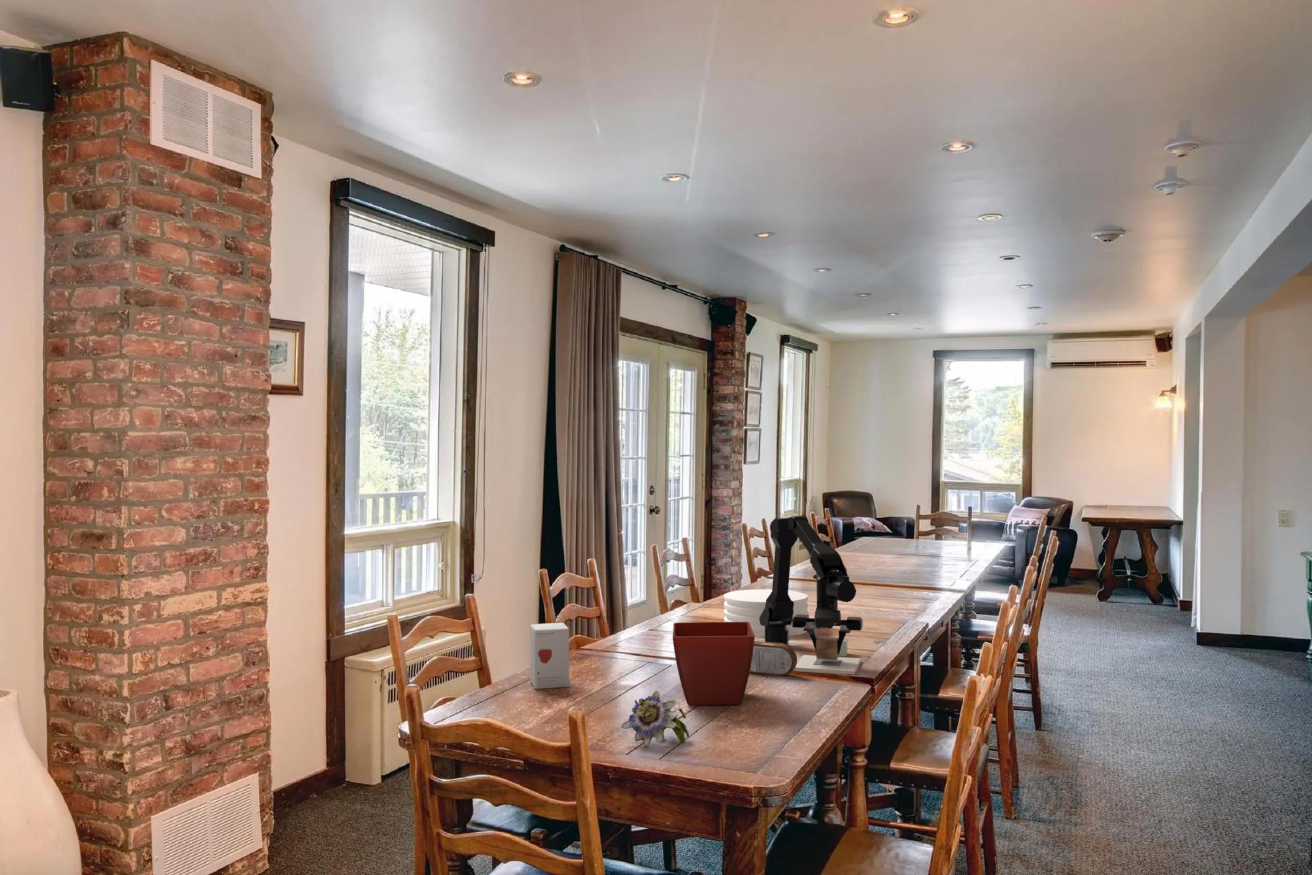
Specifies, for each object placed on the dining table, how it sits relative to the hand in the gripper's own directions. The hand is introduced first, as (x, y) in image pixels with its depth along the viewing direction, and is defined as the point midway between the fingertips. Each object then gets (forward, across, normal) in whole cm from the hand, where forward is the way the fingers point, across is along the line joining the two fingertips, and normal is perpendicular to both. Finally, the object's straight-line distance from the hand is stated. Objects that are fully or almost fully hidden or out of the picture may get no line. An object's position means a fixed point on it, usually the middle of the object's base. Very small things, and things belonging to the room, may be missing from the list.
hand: (827, 653), depth 254 cm
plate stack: (+4, -27, +49) cm, 56 cm away
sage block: (+4, +1, +16) cm, 16 cm away
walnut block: (+1, 0, 0) cm, 1 cm away
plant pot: (+4, -22, -41) cm, 47 cm away
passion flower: (+4, -25, -76) cm, 80 cm away
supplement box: (+4, -66, -39) cm, 77 cm away
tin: (+4, -14, -13) cm, 19 cm away
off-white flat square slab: (+4, 0, 0) cm, 4 cm away
